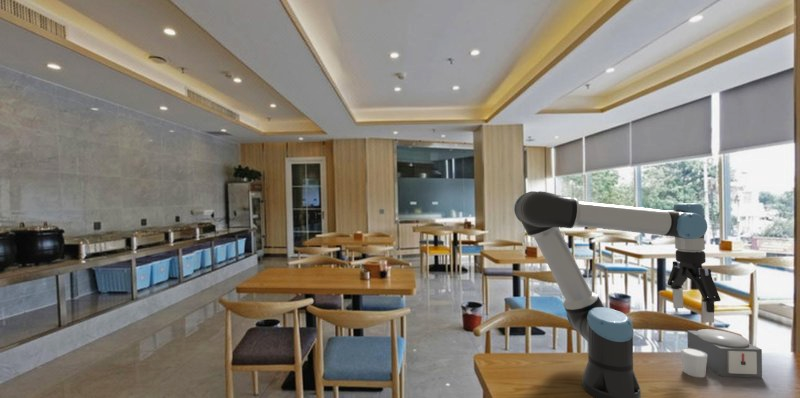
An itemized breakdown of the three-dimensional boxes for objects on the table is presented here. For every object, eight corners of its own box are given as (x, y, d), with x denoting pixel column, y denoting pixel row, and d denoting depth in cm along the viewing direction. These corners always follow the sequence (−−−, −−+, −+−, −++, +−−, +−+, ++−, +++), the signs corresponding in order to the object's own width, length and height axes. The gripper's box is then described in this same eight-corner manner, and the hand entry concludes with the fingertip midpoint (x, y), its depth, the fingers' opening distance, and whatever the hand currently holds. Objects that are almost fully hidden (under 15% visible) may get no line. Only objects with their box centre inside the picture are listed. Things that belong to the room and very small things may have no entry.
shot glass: (683, 375, 113) (683, 354, 113) (678, 366, 119) (678, 345, 119) (710, 380, 110) (710, 358, 110) (704, 370, 116) (703, 349, 116)
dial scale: (721, 377, 111) (721, 346, 111) (686, 354, 127) (685, 327, 127) (766, 379, 110) (766, 347, 110) (725, 356, 126) (724, 328, 125)
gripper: (734, 256, 101) (737, 328, 101) (676, 244, 126) (678, 302, 126) (706, 257, 102) (709, 328, 102) (654, 245, 127) (656, 303, 127)
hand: (692, 314), depth 114 cm, fingers open, 13 cm apart
